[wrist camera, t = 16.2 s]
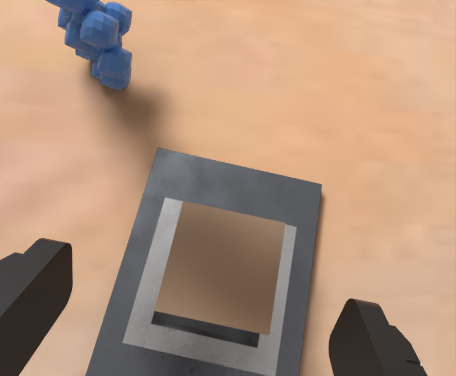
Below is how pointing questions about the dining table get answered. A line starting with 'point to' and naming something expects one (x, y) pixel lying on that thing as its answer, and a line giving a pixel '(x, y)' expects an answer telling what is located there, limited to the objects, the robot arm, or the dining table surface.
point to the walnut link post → (222, 268)
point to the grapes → (98, 37)
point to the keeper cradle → (156, 263)
